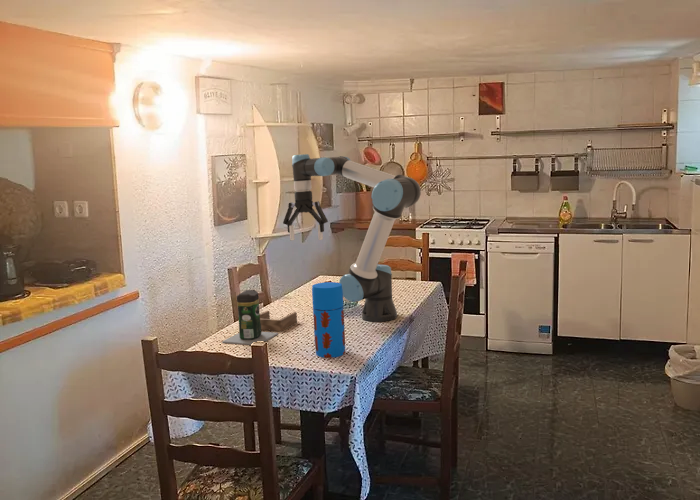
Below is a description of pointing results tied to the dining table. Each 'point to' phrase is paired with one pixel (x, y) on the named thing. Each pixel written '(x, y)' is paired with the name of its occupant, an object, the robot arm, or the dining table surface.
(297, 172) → the robot arm
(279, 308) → the dining table surface
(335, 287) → the thermos
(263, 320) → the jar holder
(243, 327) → the coffee jar
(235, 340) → the slate mat
